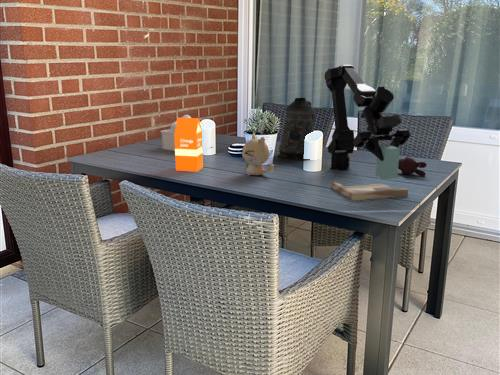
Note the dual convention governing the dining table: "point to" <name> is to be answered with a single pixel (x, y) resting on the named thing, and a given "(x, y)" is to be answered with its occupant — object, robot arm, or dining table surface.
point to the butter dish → (170, 136)
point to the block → (388, 162)
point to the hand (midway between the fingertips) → (390, 159)
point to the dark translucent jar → (296, 128)
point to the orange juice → (188, 144)
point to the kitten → (256, 156)
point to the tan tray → (368, 191)
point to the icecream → (411, 166)
